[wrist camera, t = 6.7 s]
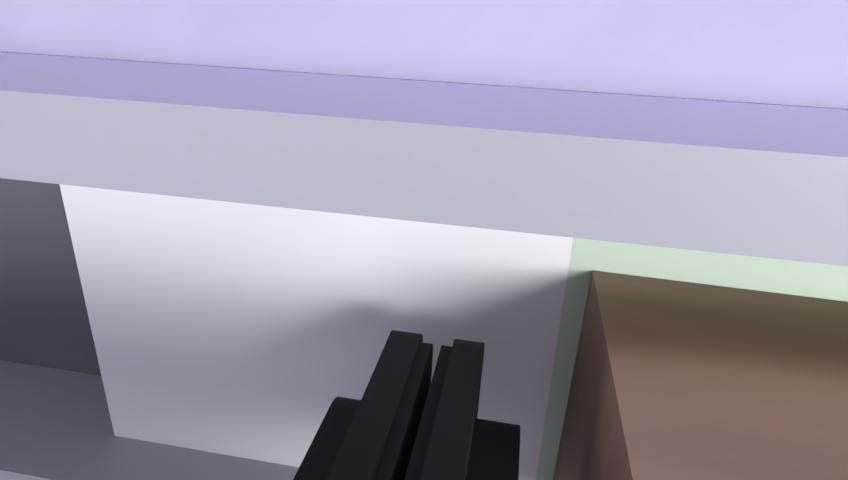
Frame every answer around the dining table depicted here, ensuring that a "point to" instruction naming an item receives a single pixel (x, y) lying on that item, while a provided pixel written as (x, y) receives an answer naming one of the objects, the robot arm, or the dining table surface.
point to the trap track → (353, 246)
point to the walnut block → (706, 384)
